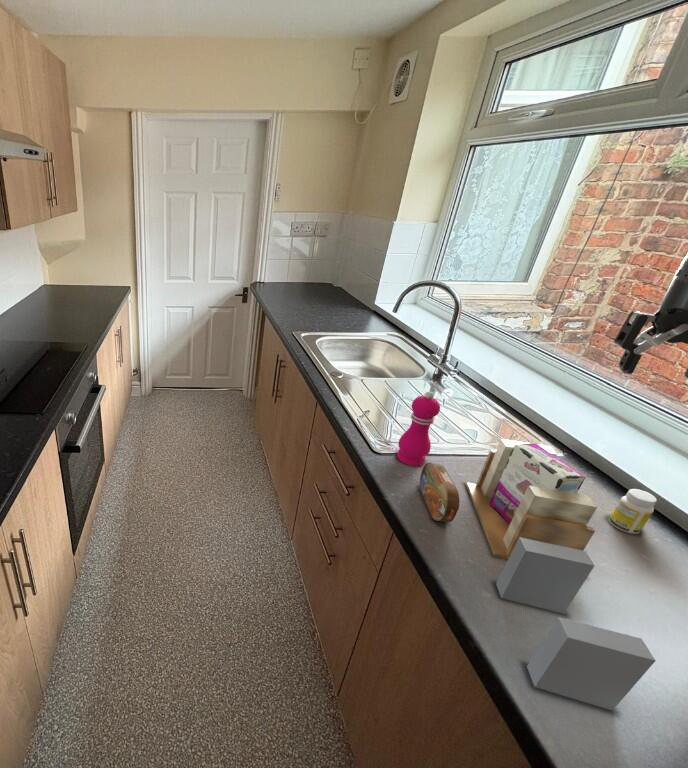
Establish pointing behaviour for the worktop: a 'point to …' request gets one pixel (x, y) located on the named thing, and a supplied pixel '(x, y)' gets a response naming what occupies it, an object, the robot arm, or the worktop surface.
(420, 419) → the pepper mill
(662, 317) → the robot arm
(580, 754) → the worktop surface
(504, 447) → the book rack
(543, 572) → the grey blocks
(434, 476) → the tin
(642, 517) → the supplement bottle
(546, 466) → the candy bar box
